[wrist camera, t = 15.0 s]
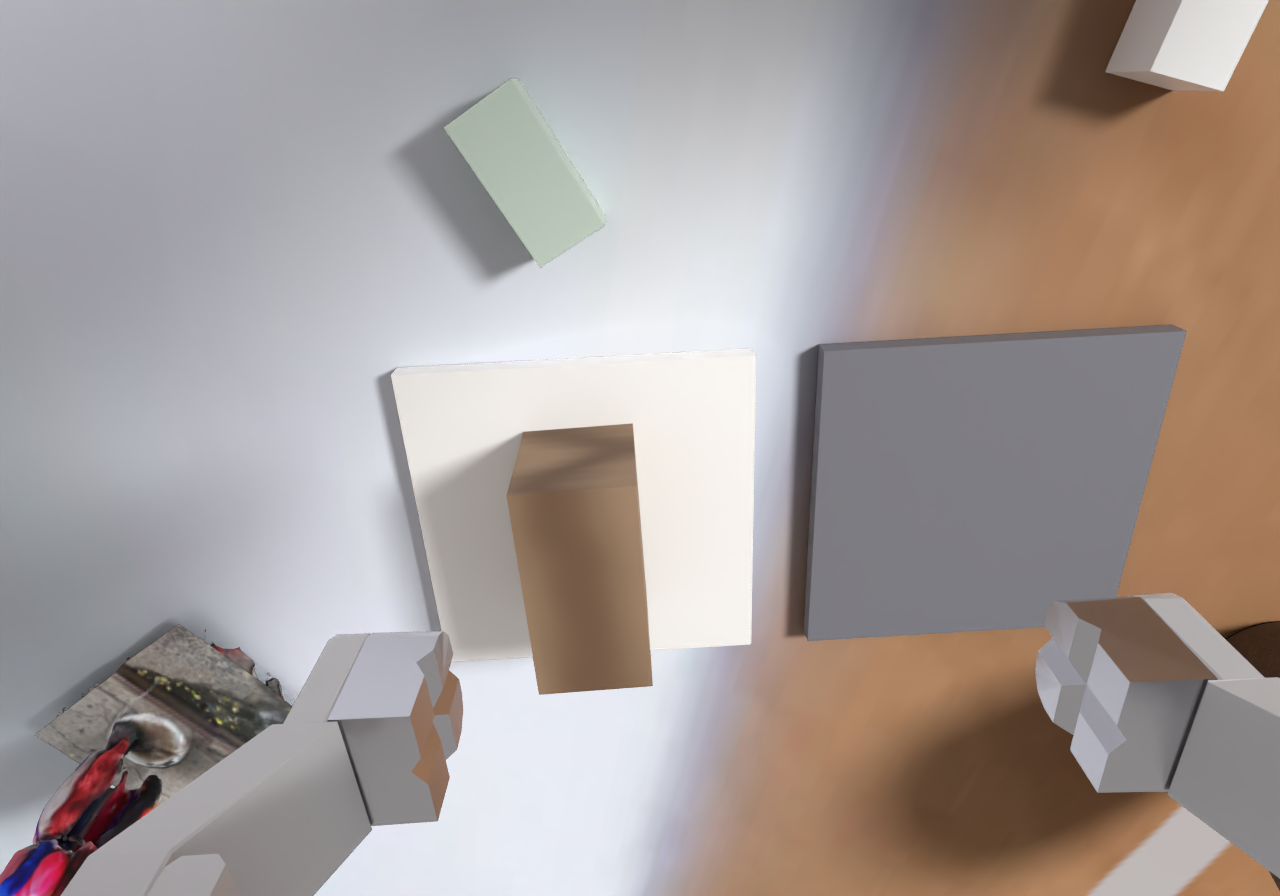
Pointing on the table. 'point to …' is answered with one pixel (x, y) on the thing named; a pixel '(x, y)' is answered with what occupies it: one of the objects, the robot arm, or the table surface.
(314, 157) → the table surface
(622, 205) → the table surface
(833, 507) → the charcoal mat
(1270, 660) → the plant pot
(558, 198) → the sage brick
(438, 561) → the off-white mat
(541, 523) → the walnut brick
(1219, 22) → the pale grey brick
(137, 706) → the statue
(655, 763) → the table surface
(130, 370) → the table surface
